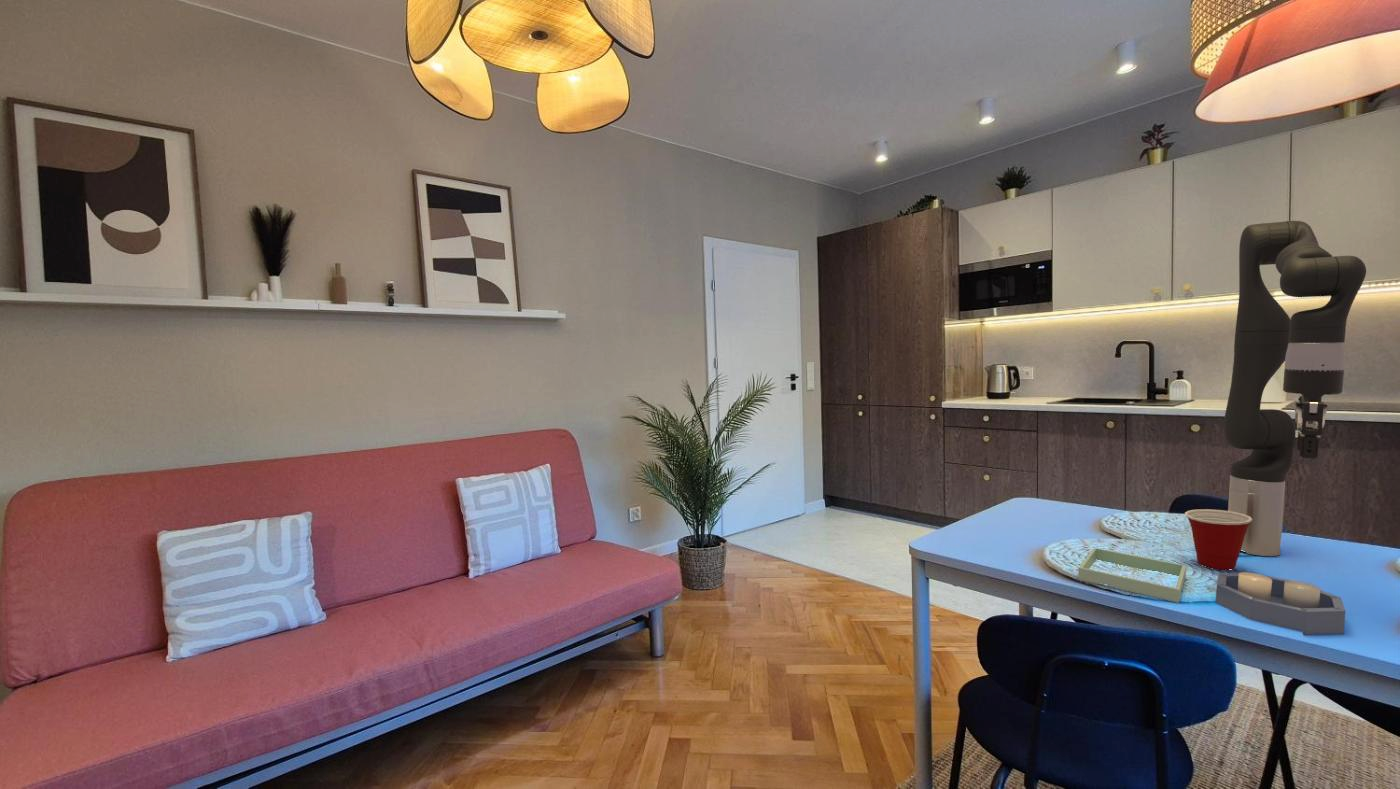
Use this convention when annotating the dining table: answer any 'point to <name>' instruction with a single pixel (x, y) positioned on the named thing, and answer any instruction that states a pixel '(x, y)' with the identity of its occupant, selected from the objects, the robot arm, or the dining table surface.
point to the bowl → (1282, 608)
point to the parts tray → (1134, 563)
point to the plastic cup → (1218, 536)
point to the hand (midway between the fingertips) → (1306, 454)
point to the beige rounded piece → (1301, 594)
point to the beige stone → (1255, 585)
